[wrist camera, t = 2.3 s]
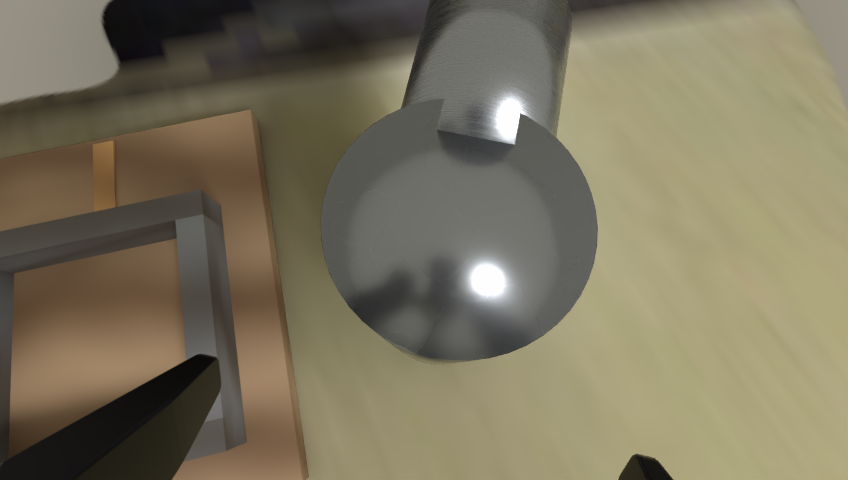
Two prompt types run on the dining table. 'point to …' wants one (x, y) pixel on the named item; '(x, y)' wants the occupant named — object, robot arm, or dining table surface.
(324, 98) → the dining table surface
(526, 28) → the duct elbow
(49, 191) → the base
